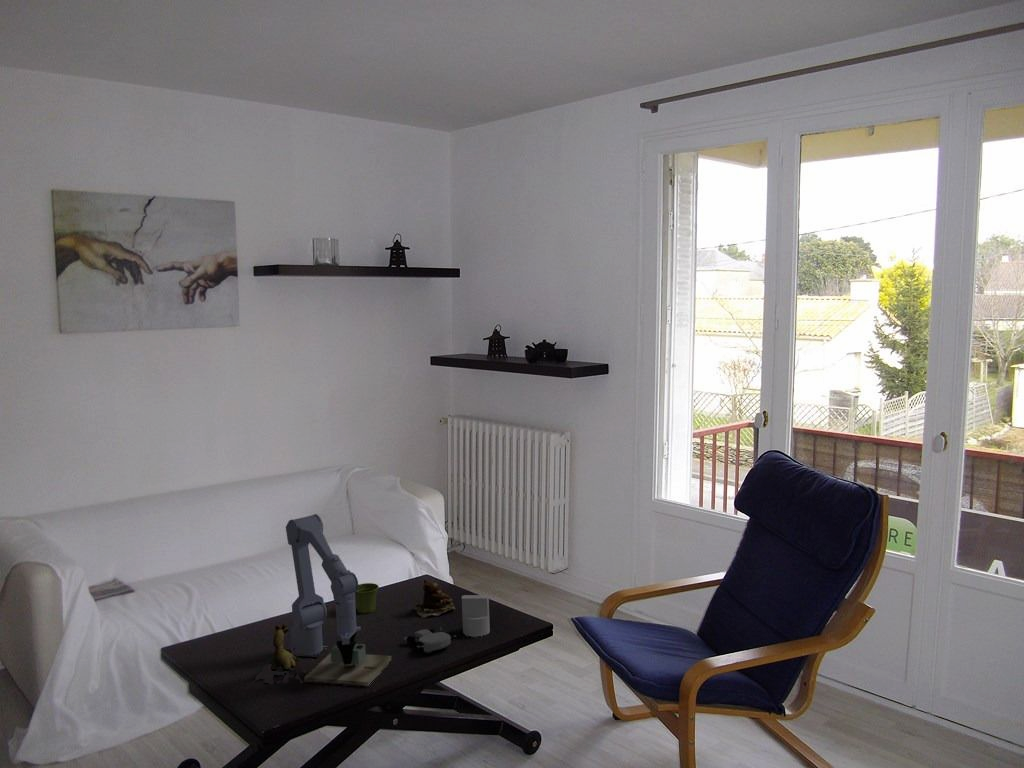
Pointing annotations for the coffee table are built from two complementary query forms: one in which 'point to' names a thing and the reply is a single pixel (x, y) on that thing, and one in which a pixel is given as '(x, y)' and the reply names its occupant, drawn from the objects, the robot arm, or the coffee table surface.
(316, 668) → the base
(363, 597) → the plant pot
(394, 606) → the coffee table surface
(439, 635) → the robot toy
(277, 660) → the stuffed giraffe
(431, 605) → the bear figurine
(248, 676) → the coffee table surface
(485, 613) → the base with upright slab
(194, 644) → the coffee table surface
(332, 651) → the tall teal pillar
